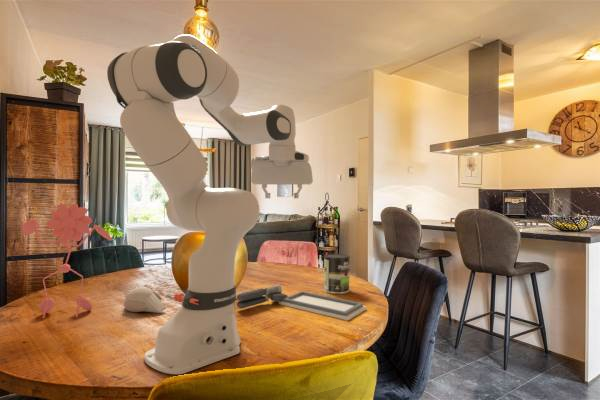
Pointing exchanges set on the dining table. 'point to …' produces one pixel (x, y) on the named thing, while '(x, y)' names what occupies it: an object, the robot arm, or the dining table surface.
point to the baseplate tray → (324, 305)
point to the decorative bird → (143, 300)
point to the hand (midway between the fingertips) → (282, 198)
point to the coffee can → (336, 273)
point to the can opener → (260, 296)
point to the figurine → (66, 227)
